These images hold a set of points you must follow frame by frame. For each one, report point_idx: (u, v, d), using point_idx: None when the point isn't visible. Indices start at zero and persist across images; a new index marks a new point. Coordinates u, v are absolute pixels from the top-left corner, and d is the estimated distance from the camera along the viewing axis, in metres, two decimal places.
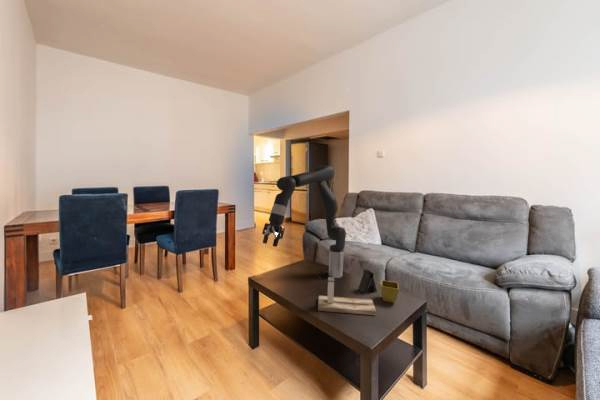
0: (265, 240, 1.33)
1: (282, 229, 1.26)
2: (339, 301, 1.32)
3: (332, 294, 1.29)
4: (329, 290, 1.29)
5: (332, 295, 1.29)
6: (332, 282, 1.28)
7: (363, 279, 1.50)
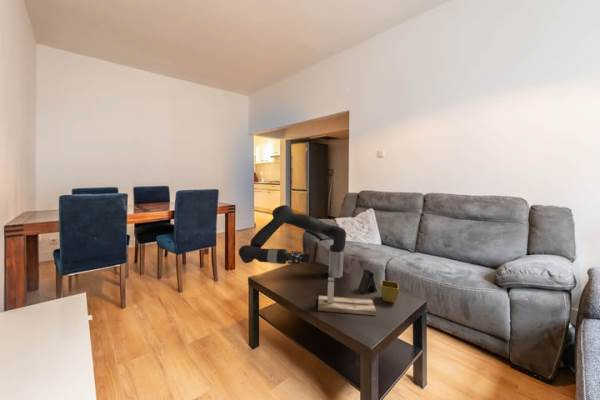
0: (307, 256, 1.35)
1: (290, 261, 1.26)
2: (339, 301, 1.32)
3: (332, 294, 1.29)
4: (329, 290, 1.29)
5: (332, 295, 1.29)
6: (332, 282, 1.28)
7: (363, 279, 1.50)
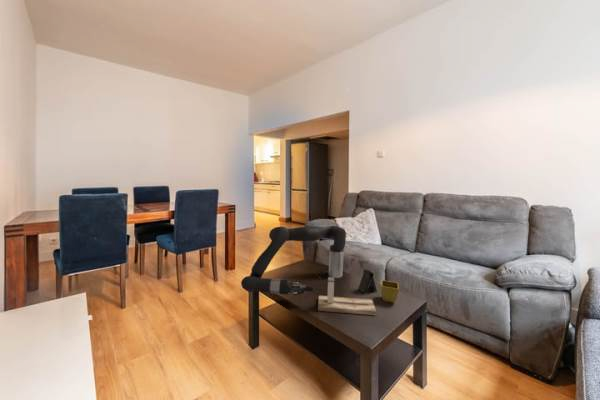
0: None
1: (296, 292, 1.27)
2: (339, 301, 1.32)
3: (332, 294, 1.29)
4: (329, 290, 1.29)
5: (332, 295, 1.29)
6: (332, 282, 1.28)
7: (363, 279, 1.50)
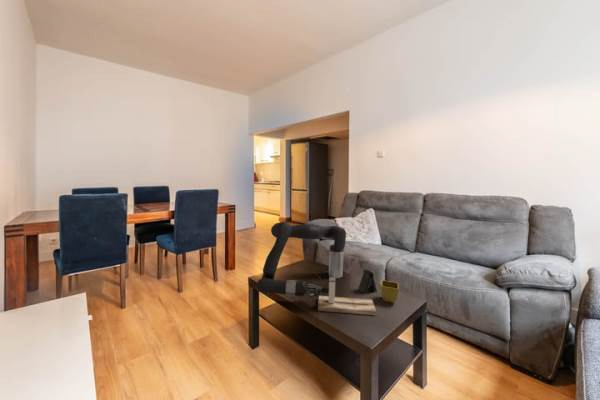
0: None
1: (313, 294, 1.27)
2: (339, 301, 1.32)
3: (333, 295, 1.29)
4: (330, 290, 1.29)
5: (333, 295, 1.29)
6: (333, 282, 1.28)
7: (363, 279, 1.50)
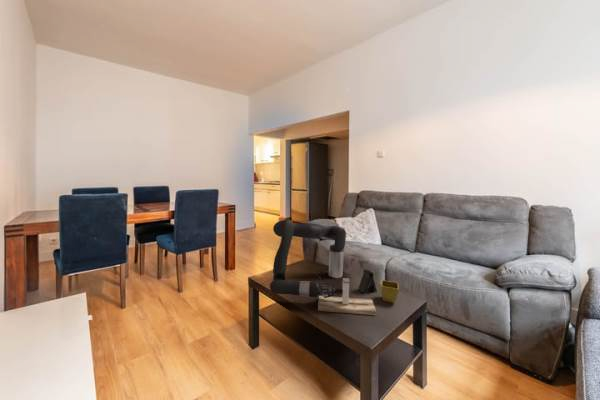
0: None
1: (327, 295, 1.26)
2: (339, 301, 1.32)
3: (347, 296, 1.28)
4: (344, 291, 1.28)
5: (347, 296, 1.28)
6: (347, 283, 1.28)
7: (363, 279, 1.50)
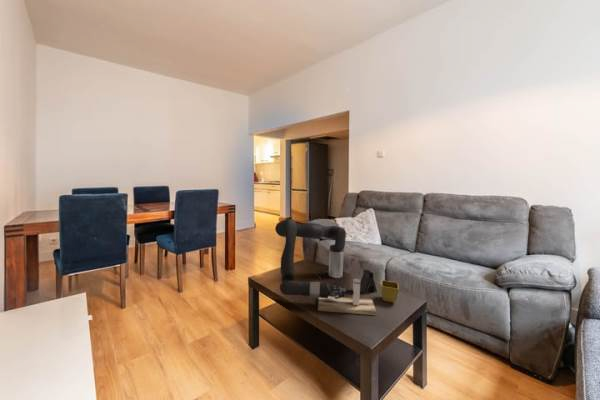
0: None
1: (338, 296, 1.25)
2: (339, 301, 1.32)
3: (358, 296, 1.28)
4: (355, 292, 1.28)
5: (358, 297, 1.28)
6: (358, 284, 1.27)
7: (363, 279, 1.50)
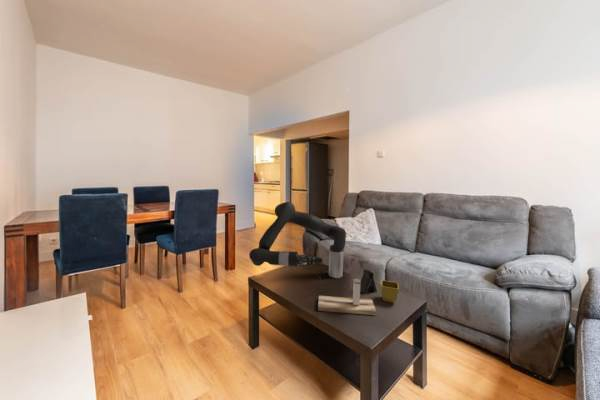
0: None
1: (306, 263, 1.25)
2: (339, 301, 1.32)
3: (358, 296, 1.28)
4: (355, 292, 1.28)
5: (358, 297, 1.28)
6: (358, 284, 1.27)
7: (363, 279, 1.50)
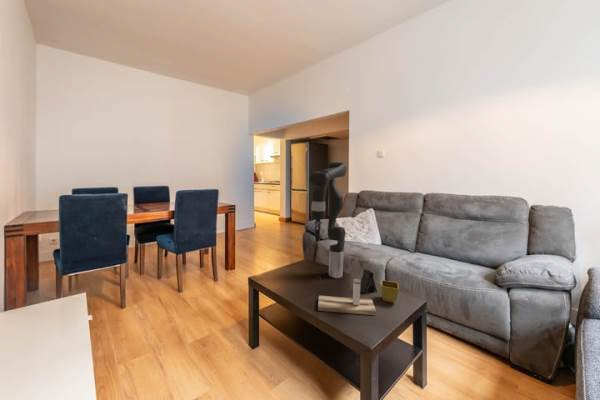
0: None
1: (317, 229, 1.32)
2: (339, 301, 1.32)
3: (358, 296, 1.28)
4: (355, 292, 1.28)
5: (358, 297, 1.28)
6: (358, 284, 1.27)
7: (363, 279, 1.50)
